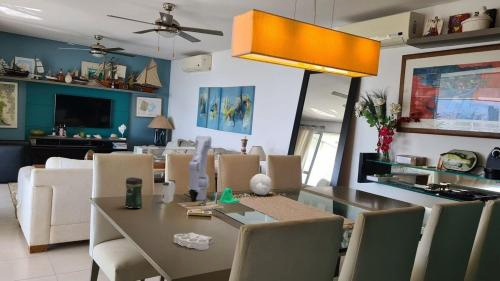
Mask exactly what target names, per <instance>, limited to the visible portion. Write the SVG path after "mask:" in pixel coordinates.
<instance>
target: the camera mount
mask: <svg viewBox="0 0 500 281" xmlns="http://www.w3.org/2000/svg"><path fill="white" fill-rule="evenodd" d="M232 193H233V190H232V188H230V187H229V188H228V187H225V188H224V189H223V193H222V194H221V196H220V199H219V203H223V204H228V205H229V204H235V203H238V204H239V203H240V202H241V200H240V199H237V198H234V196H233V194H232Z"/></svg>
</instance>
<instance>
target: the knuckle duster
mask: <svg viewBox="0 0 500 281" xmlns="http://www.w3.org/2000/svg"><path fill="white" fill-rule="evenodd" d="M213 242H214V238H213V237H211V236H207V235H203V234H198V233H195V232H189V233H176V234H173V244H175V243H178V244H179V245H181V246H186V247H188V248H187V249H189V248H195V249H194V250H198V251H206V250H208V249H209V245H210V244H212V243H213ZM178 244H177V245H178ZM179 245H178V246H179ZM181 246H180V247H181ZM186 247H185V248H186Z"/></svg>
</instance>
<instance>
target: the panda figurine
mask: <svg viewBox="0 0 500 281" xmlns="http://www.w3.org/2000/svg"><path fill="white" fill-rule="evenodd" d="M175 184H176V180H174V179H169V180H166V181H163V182H162V185H163V186H162V194H163V195H162V199H163V204H170V203H172V202H174V195H175V192H176V185H175Z"/></svg>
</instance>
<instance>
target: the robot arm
mask: <svg viewBox="0 0 500 281" xmlns="http://www.w3.org/2000/svg"><path fill="white" fill-rule="evenodd" d="M195 145H196V152H194V153H193V155H192V158H191V161H189V163H188V172H189V185H187V189H188V194H189V196H190V202H195V201H203V199H204V198H207V189H208V188H209V185H210V176H209V175H208V174H206V173H207V172H206V171H207V170H206V169H207V162H208V161H207V160H208V152H209V150H210V149H211V147H212V137H211V136H210V135H209V136H208V135H207V136H206V135H204V136H203V135H197V136H196V137H195Z"/></svg>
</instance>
